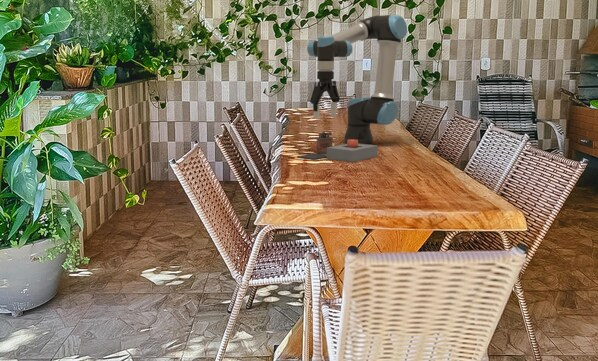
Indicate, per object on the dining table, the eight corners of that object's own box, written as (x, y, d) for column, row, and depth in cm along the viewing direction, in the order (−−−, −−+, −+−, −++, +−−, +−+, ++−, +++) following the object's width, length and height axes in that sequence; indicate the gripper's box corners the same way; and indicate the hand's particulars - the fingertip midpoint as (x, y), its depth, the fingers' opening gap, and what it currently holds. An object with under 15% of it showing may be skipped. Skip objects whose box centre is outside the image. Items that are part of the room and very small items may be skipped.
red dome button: (351, 149, 317) (351, 139, 316) (359, 151, 314) (360, 139, 313) (345, 151, 313) (345, 140, 312) (353, 152, 310) (354, 140, 309)
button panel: (351, 153, 326) (351, 142, 325) (377, 156, 317) (377, 145, 316) (326, 158, 311) (326, 147, 310) (352, 162, 302) (353, 150, 301)
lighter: (317, 154, 323) (317, 132, 321) (315, 153, 326) (315, 132, 324) (333, 153, 325) (334, 132, 323) (331, 152, 328) (331, 131, 327)
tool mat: (313, 154, 322) (313, 153, 322) (330, 156, 316) (330, 155, 316) (296, 157, 313) (296, 156, 313) (314, 160, 307) (314, 158, 307)
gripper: (334, 69, 330) (333, 114, 334) (302, 71, 310) (302, 118, 315) (347, 70, 326) (346, 115, 330) (316, 71, 306) (315, 120, 310)
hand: (325, 117), depth 322 cm, fingers open, 13 cm apart
